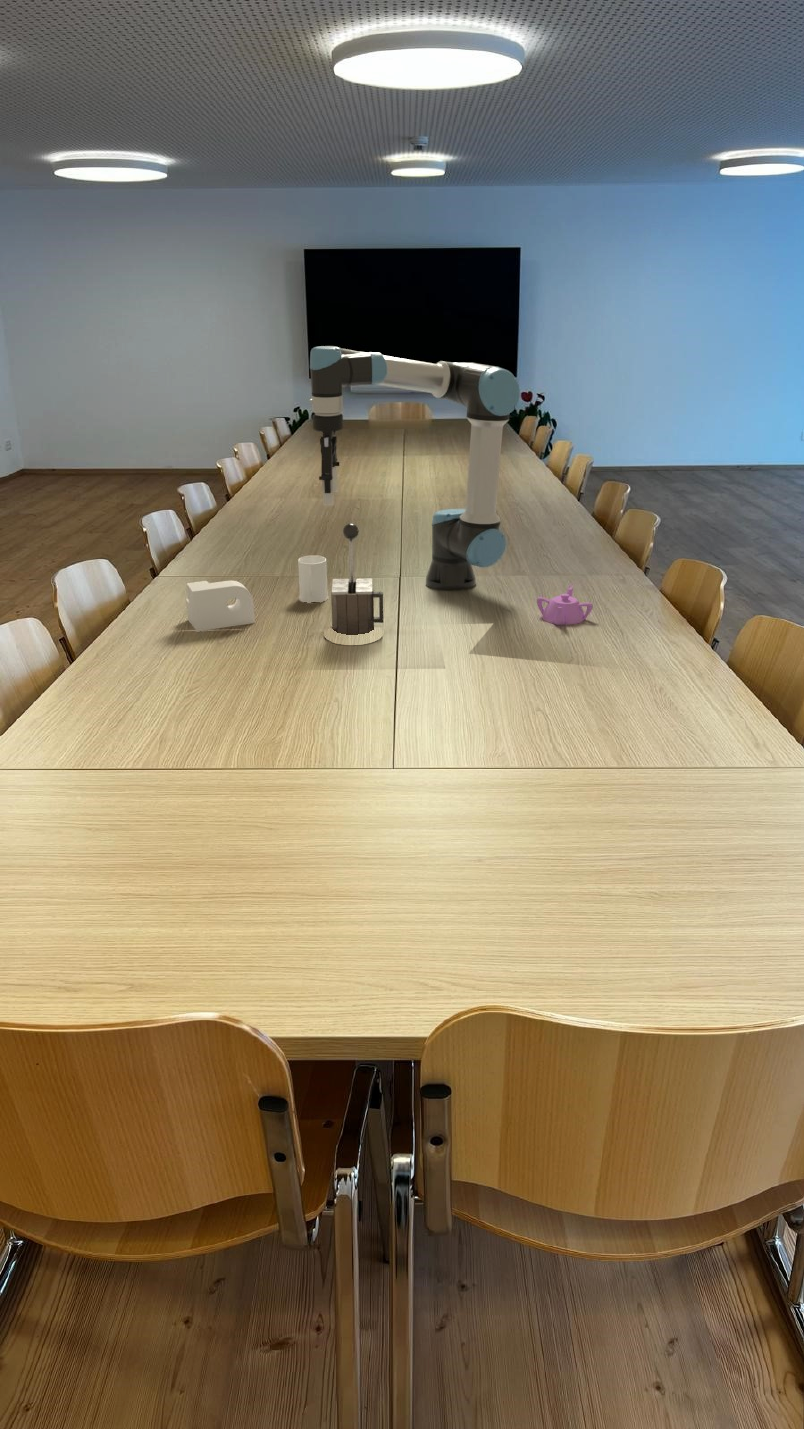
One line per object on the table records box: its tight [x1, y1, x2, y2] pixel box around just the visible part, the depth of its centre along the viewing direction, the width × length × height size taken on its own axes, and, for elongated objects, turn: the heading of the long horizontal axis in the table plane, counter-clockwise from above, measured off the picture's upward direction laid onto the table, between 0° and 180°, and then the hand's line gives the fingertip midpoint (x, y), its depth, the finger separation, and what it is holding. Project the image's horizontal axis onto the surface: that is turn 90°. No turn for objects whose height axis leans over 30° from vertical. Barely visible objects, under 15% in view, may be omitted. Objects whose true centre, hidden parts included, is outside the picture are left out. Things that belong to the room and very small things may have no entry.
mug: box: [297, 554, 330, 604], centre depth 280 cm, size 12×8×12 cm
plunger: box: [342, 523, 360, 594], centre depth 251 cm, size 7×7×21 cm
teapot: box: [536, 584, 594, 626], centre depth 263 cm, size 12×14×9 cm
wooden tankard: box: [330, 577, 384, 635], centre depth 257 cm, size 14×12×13 cm
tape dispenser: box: [185, 580, 256, 633], centre depth 263 cm, size 16×10×13 cm, turn 113°
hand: (330, 498), depth 250 cm, fingers open, 13 cm apart
